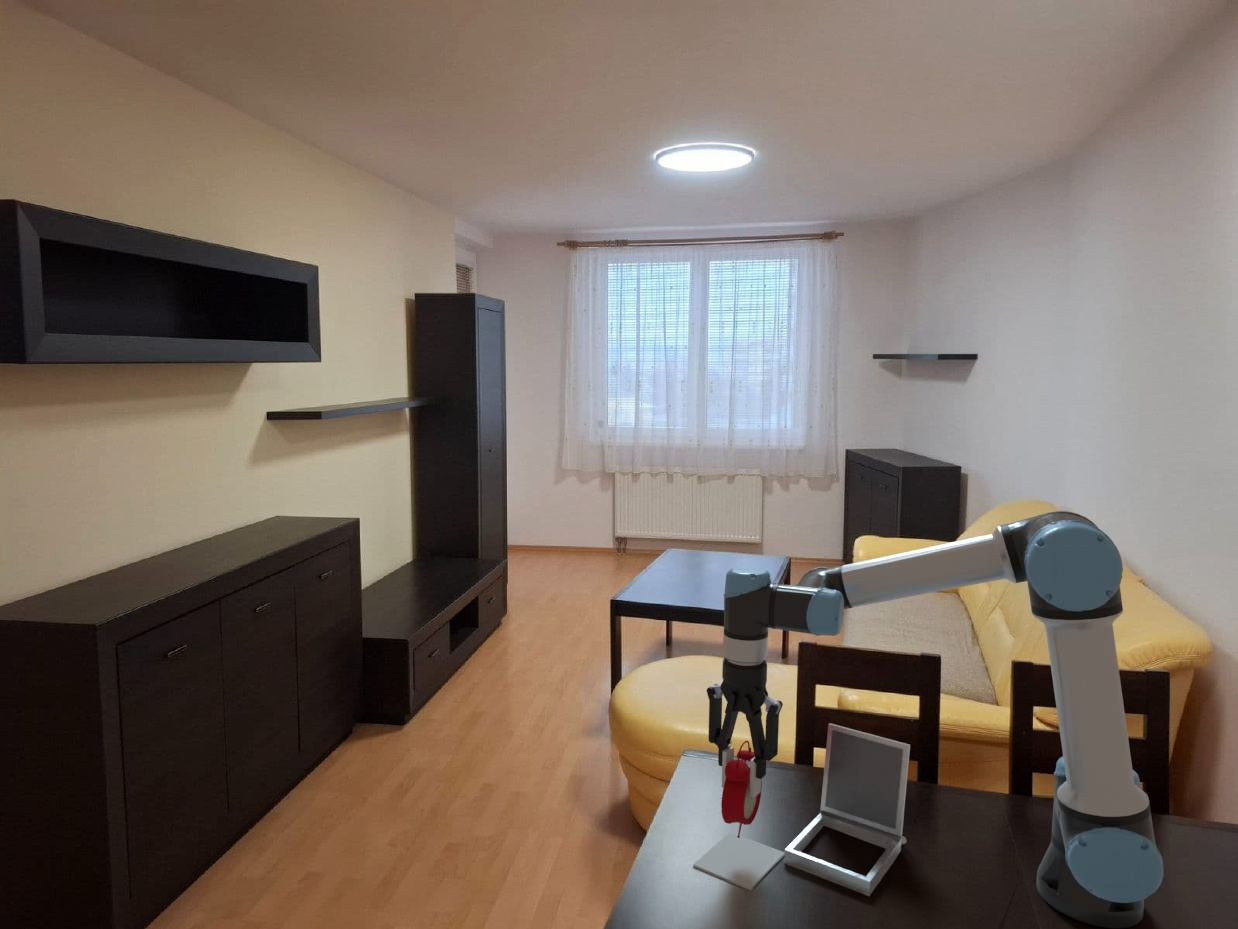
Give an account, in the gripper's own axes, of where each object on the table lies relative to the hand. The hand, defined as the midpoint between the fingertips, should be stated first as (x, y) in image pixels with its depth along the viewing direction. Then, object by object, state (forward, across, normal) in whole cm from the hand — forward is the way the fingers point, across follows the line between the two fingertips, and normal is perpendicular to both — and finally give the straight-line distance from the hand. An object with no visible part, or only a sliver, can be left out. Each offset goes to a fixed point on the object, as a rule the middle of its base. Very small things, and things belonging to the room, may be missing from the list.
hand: (741, 789), depth 140 cm
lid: (+10, -14, -20) cm, 26 cm away
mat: (+13, 0, 0) cm, 13 cm away
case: (+13, -14, -12) cm, 23 cm away
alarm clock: (+7, +2, 0) cm, 7 cm away
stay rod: (+13, -20, -23) cm, 33 cm away
